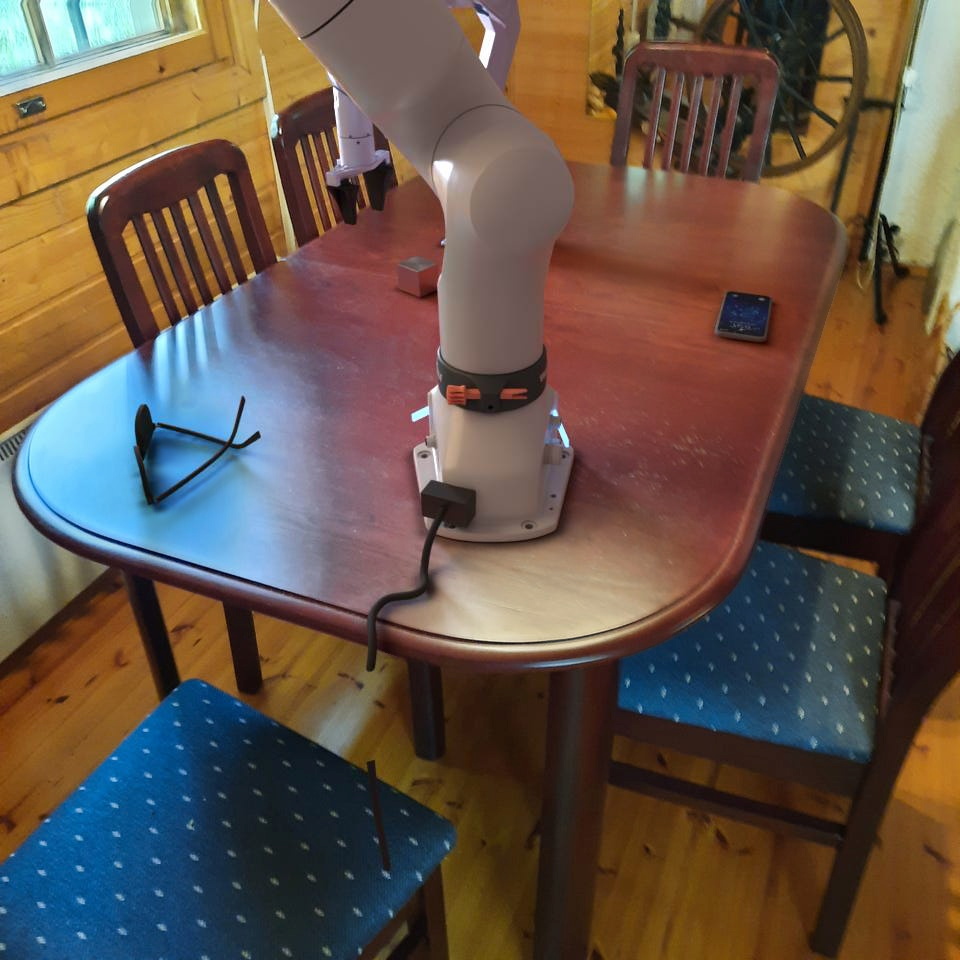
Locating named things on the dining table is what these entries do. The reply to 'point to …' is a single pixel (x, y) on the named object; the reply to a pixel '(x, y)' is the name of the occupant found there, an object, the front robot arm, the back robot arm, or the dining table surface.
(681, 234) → the dining table surface
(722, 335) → the smartphone
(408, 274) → the block
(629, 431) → the dining table surface
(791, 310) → the dining table surface
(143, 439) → the sunglasses
